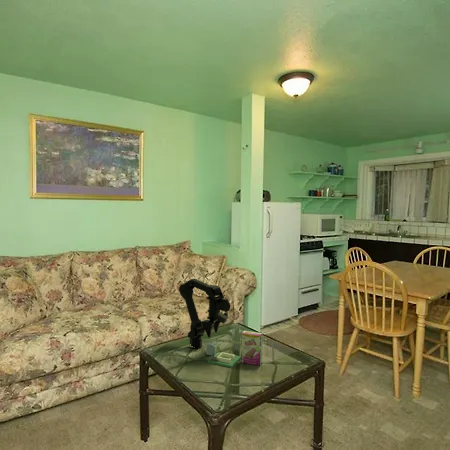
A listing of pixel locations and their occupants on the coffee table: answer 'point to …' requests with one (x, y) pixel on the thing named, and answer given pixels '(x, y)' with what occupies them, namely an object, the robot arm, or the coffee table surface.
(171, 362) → the coffee table surface
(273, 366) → the coffee table surface
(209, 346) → the plug
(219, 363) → the board
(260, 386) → the coffee table surface
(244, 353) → the candy bar box
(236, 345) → the coffee table surface
